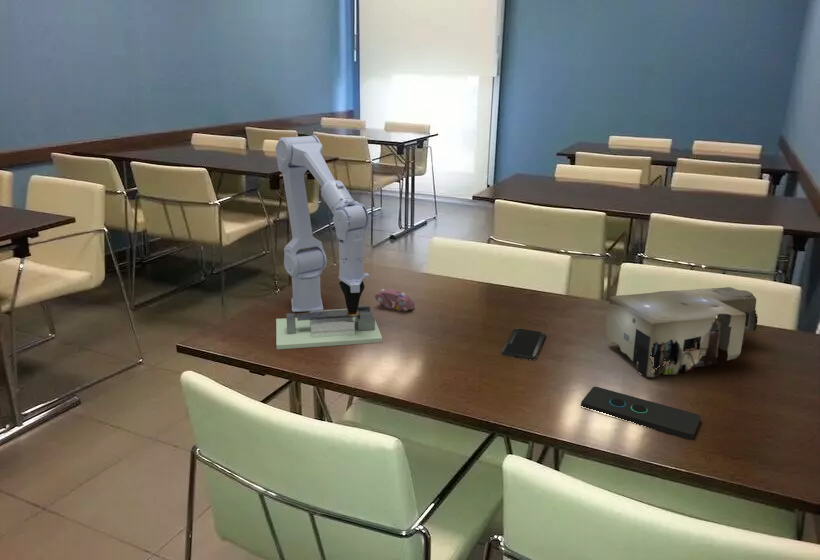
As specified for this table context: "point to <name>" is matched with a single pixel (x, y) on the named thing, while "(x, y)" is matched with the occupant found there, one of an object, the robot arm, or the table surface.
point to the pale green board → (306, 340)
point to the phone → (524, 344)
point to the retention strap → (328, 315)
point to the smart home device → (643, 412)
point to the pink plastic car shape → (394, 299)
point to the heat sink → (332, 325)
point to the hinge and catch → (363, 322)
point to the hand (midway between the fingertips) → (352, 311)
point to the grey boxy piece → (680, 327)
